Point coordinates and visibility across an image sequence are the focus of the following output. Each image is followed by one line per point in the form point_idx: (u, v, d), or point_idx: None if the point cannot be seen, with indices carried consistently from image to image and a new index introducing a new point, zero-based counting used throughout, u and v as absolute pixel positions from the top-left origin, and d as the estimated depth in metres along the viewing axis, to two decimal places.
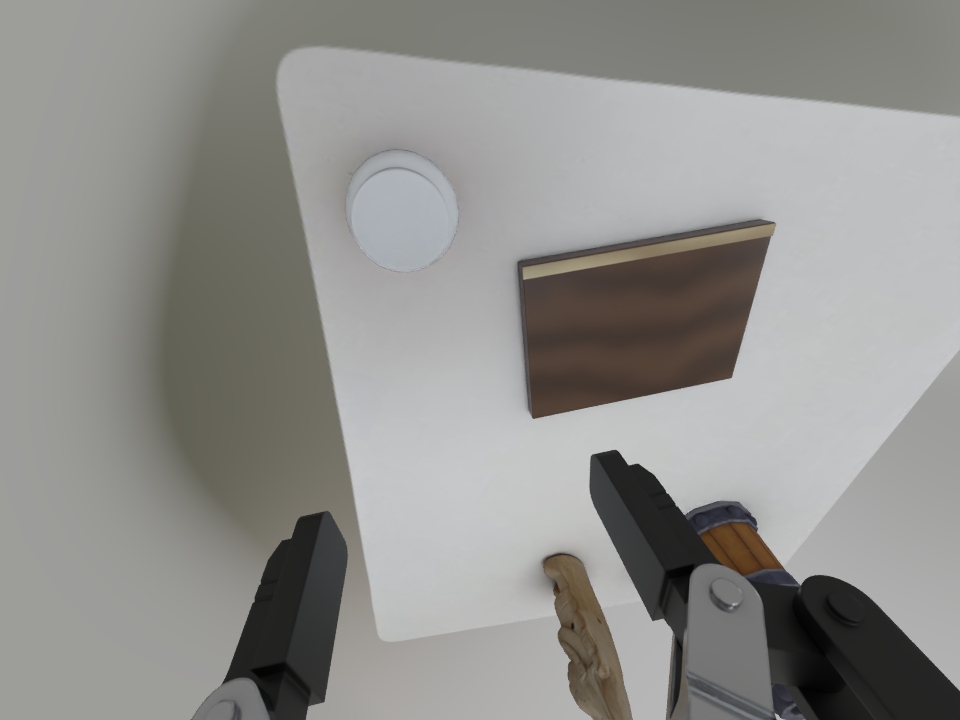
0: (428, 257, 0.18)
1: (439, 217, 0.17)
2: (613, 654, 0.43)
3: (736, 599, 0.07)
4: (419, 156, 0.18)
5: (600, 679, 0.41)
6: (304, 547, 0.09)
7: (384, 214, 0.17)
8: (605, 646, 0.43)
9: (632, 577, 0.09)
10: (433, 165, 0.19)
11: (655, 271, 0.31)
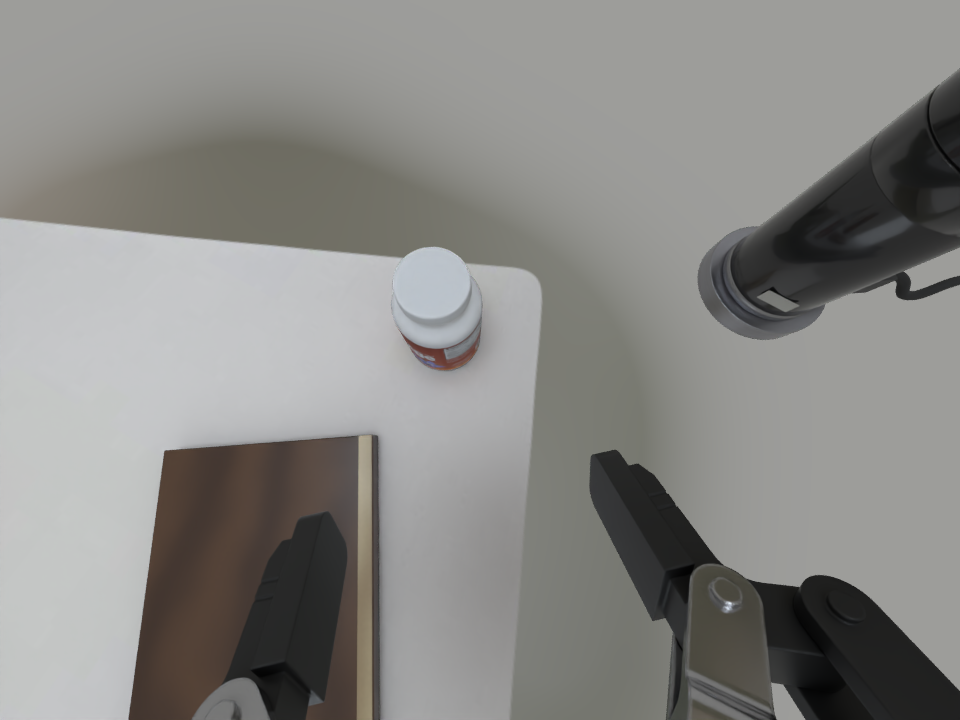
0: (402, 297, 0.21)
1: (433, 310, 0.21)
2: None
3: (736, 599, 0.07)
4: (477, 319, 0.24)
5: None
6: (304, 547, 0.09)
7: (440, 270, 0.21)
8: None
9: (632, 577, 0.09)
10: (470, 328, 0.24)
11: None
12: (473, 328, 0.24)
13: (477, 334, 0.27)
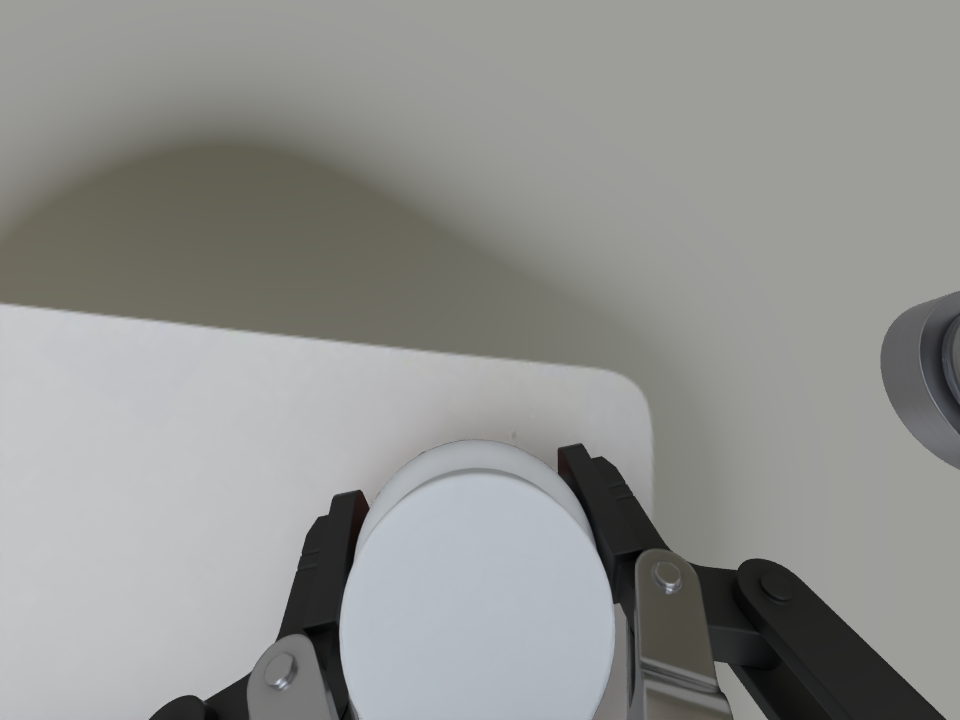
0: (372, 695, 0.06)
1: None
2: None
3: (676, 581, 0.07)
4: None
5: None
6: (342, 521, 0.10)
7: (508, 571, 0.06)
8: None
9: None
10: None
11: None
12: None
13: None
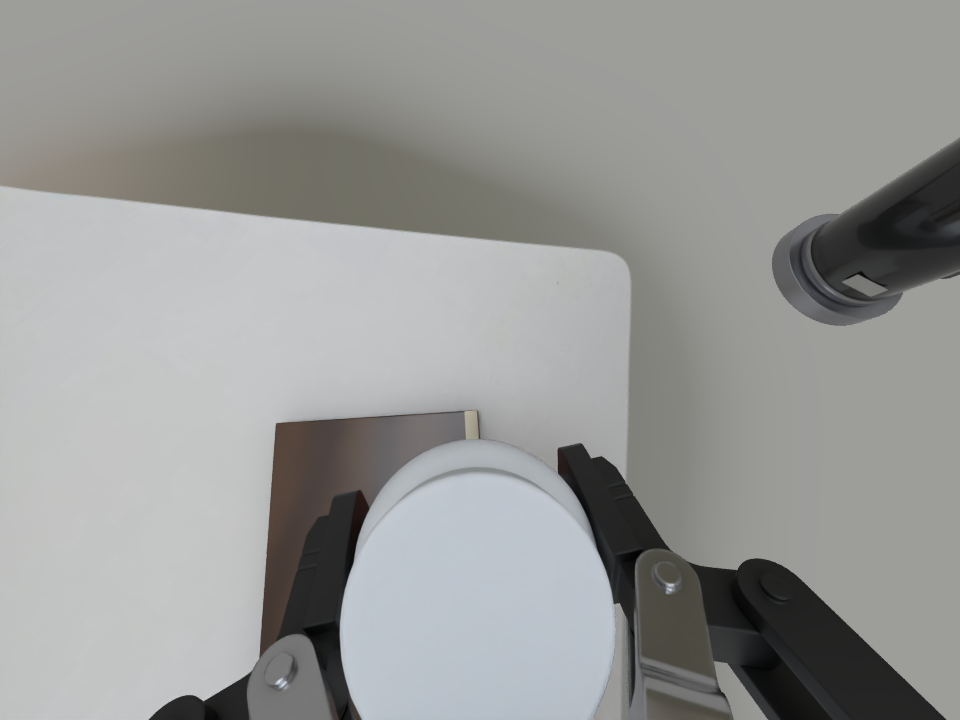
0: (373, 694, 0.06)
1: None
2: None
3: (676, 581, 0.07)
4: None
5: None
6: (342, 521, 0.10)
7: (509, 571, 0.06)
8: None
9: None
10: None
11: None
12: None
13: None
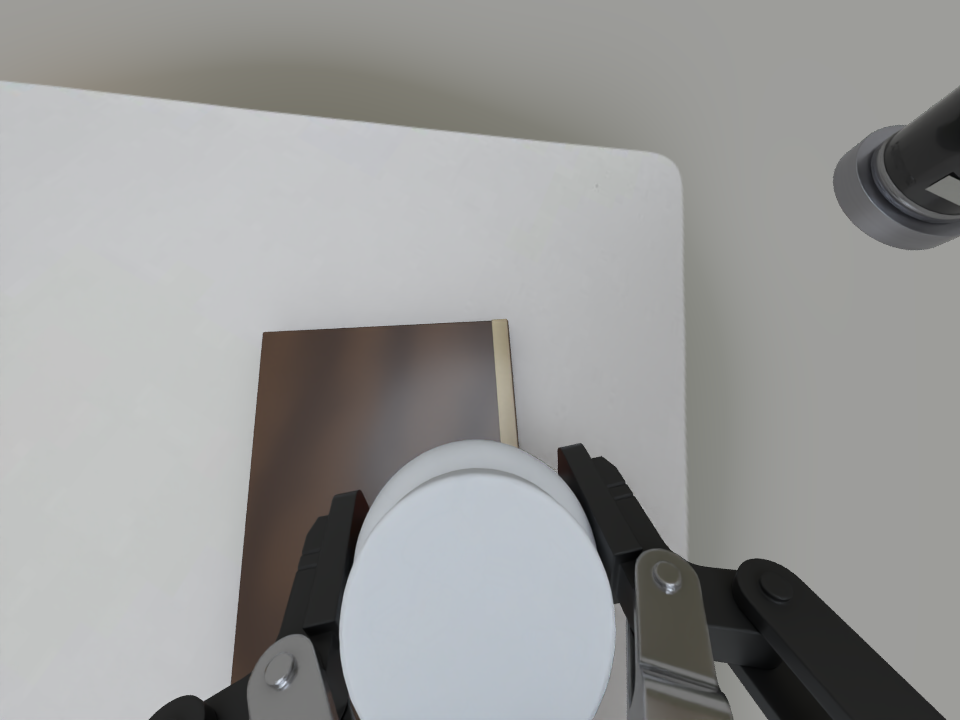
0: (372, 696, 0.06)
1: None
2: None
3: (676, 580, 0.07)
4: None
5: None
6: (342, 521, 0.10)
7: (508, 572, 0.06)
8: None
9: None
10: None
11: None
12: None
13: None
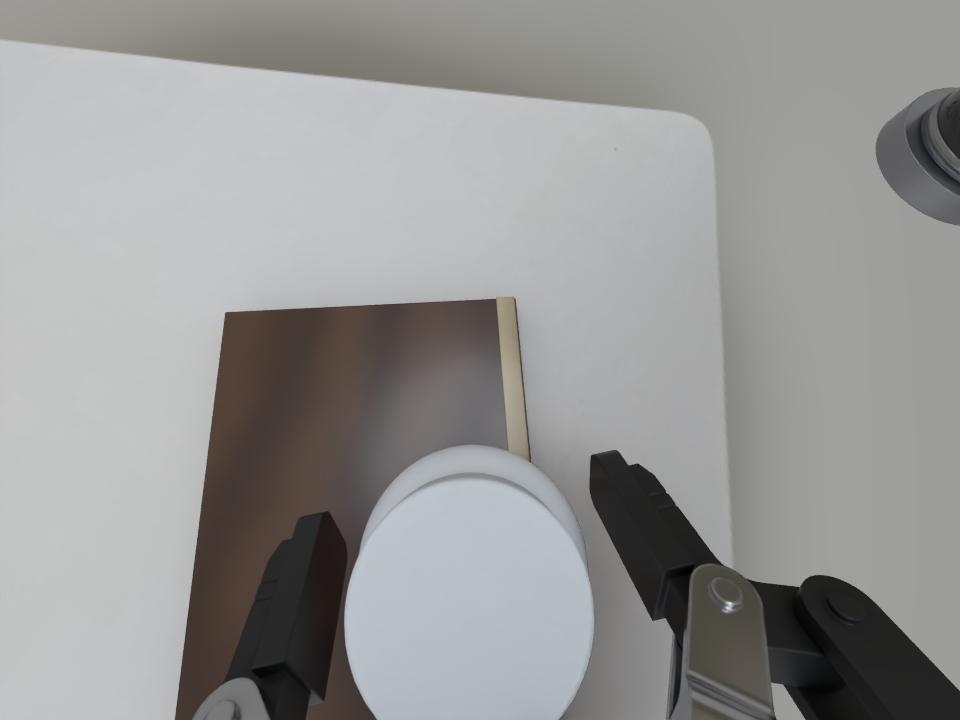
0: (374, 678, 0.06)
1: None
2: None
3: (736, 599, 0.07)
4: None
5: None
6: (304, 547, 0.09)
7: (496, 568, 0.07)
8: None
9: (632, 577, 0.09)
10: None
11: None
12: None
13: None
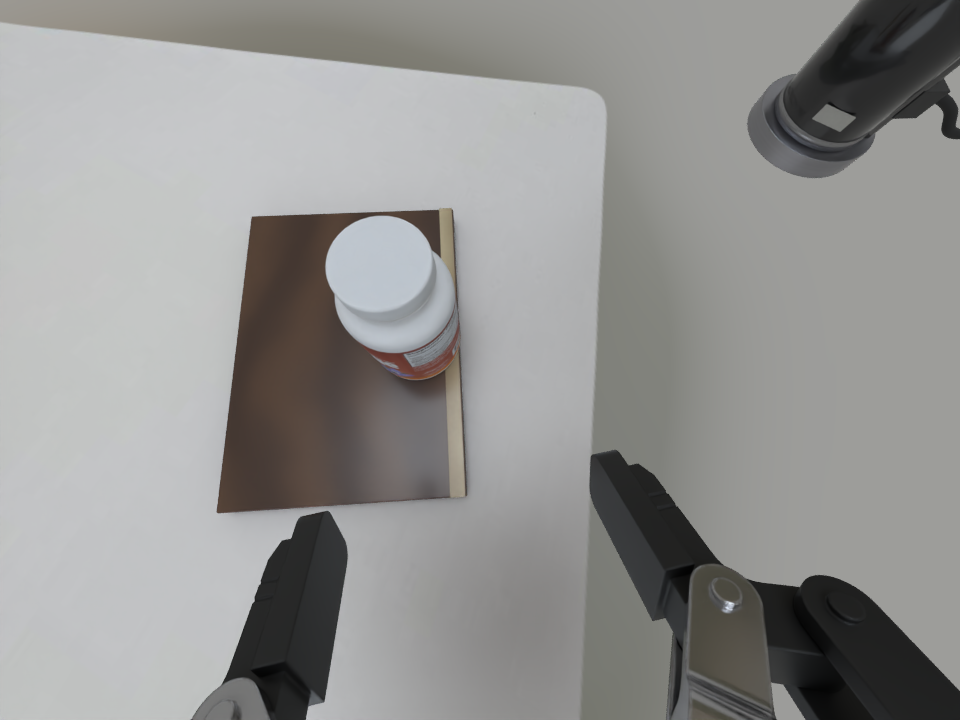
0: (337, 283, 0.15)
1: (378, 300, 0.15)
2: None
3: (736, 599, 0.07)
4: (446, 314, 0.18)
5: None
6: (304, 547, 0.09)
7: (391, 246, 0.16)
8: None
9: (632, 577, 0.09)
10: (436, 326, 0.18)
11: None
12: (441, 327, 0.18)
13: (451, 335, 0.21)
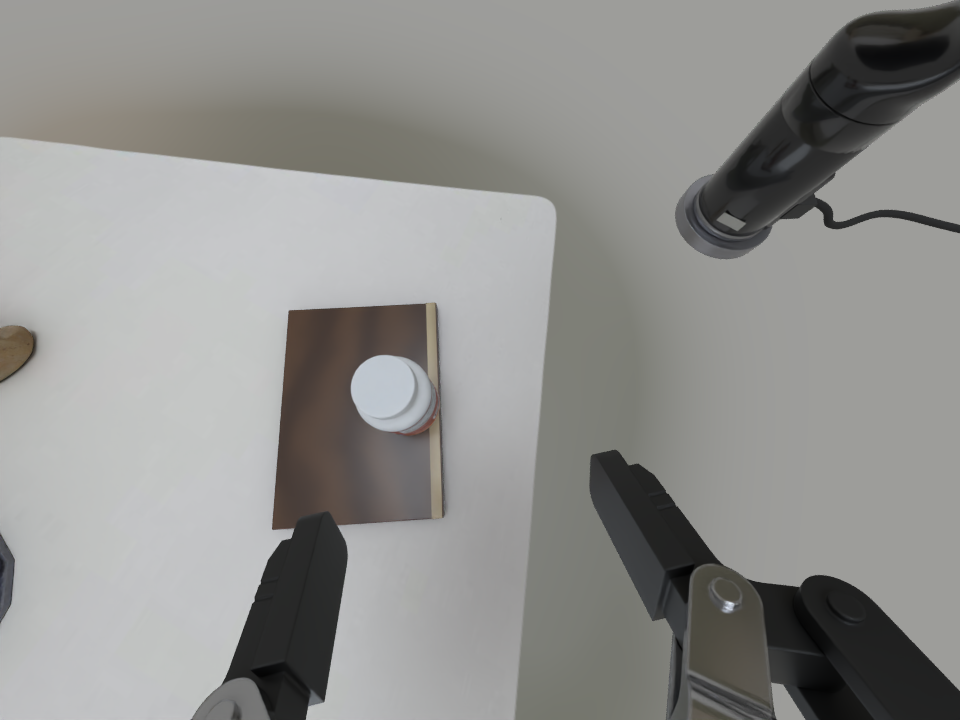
0: (358, 399, 0.26)
1: (382, 411, 0.26)
2: None
3: (736, 599, 0.07)
4: (425, 408, 0.29)
5: None
6: (304, 547, 0.09)
7: (390, 376, 0.26)
8: None
9: (632, 577, 0.09)
10: (419, 416, 0.28)
11: None
12: (422, 415, 0.29)
13: (431, 412, 0.32)
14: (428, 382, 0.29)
